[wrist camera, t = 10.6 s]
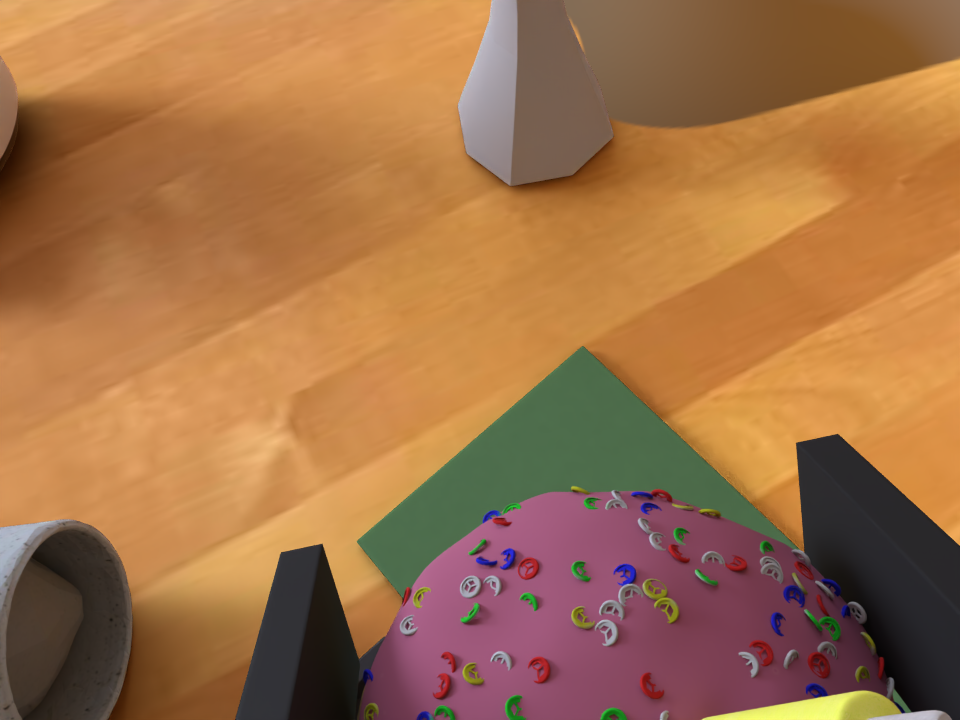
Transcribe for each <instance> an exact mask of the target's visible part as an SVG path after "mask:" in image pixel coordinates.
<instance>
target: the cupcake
mask: <svg viewBox="0 0 960 720" xmlns="http://www.w3.org/2000/svg"><path fill="white" fill-rule="evenodd" d="M571 490H572V491H573V492H549V493H544V494H541V495H538V496H535V497H532V498H530V499H527V500H525V501H523V502H520V503H512V504H510V505H508V506H507V507H506V508H505V509H504V510H503V511H502V512H499V511H497V510H492V511H489V512H488V513H487V514H486V515H485V516H484V518H483V524H481V525H480V526H479V527H477V528H476V529H475V530H473V531H472V532H471V533H469V534H468V535H467V536H465V537H464V538H462V539H461V540H460V541H458V542H457V543H455V544H454V545H452V546H451V547H450V548H448V549H447V550H446V551H444V552H443V553H442V554H441V555H439V556H438V557H437V558H436V559H435V560H433V561H432V562H431V563H430V564H429V565H428V566H427V567H426V568H425V569H424V571H423V572H422V573H421V575H420V576H419V577H418V579H417V580H416V582H415V583H414V585H413V586H412V588H411V590H410V587H407V588H406V590H405V593H404V597H403V602H402V606H401V608H400V610H399V612H398V614H397V616H396V618H395V620H394V622H393V624H392V625H391V627H390V629H389V631H388V633H387V635H386V637H385V639H384V641H383V642H382V644H381V646H380V648H379V650H378V652H377V655H376V657H375V659H374V662H373V664H372V667H371V670H369V669H365V670H364V672H363V679H364V683H365V687H364V690H363V693H362V697H361V701H360V706H359V710H358V716H357V720H952V719H951V718H950V716H949V715H948V714H946V713H945V712H942V711H937V710H930V711H920V712H912V713H906V712H905V711H904V709H903V708H902V707H901V706H900V705H899V704H898V703H897V702H895V701H894V699H893V695H892V694H893V691H894V679H893V678H891V677H889V678H888V679H887V677H886V674H885V671H884V658H883V657H878V655H877V652H876V646H875V644H874V642H873V640H872V639H871V637H870V636H869V635H868V634H867V632H866V630H865V629H864V627H863V625H862V624H864V623H865V622H866V621H867V614H866V612H865V610H864V609H863V607H862V606H861V605H859V604H858V603H856V602H849V603H848V604H847V603H846V602H845V601H844V600H843V599H842V597H841V596H840V594H841V588H840V586H839V585H838V584H837V583H836V582H835V581H833V580H830V579H825V578H824V577H823V576H822V575H821V574H820V573H819V572H818V571H817V570H816V569H815V568H814V567H813V566H812V565H811V561H810V559H809V557H808V556H807V555H806V554H805V553H804V552H802V551H801V550H797V549H794V550H793V549H792V548H790V547H789V546H787V545H786V544H784V543H782V542H779V541H777V540H775V539H772V538H770V537H768V536H765V535H763V534H761V533H759V532H756V531H754V530H752V529H749V528H747V527H745V526H743V525H740V524H738V523H735V522H733V521H731V520H728V519H726V518H724V517H721V513H720V512H719V511H717V510H713V509H701V508H699V507H696V506H693V505H691V504H688V503H685V502H682V501H679V500H676V499H673V498H672V496H671V495H670V494H669V493H668V492H666V491H664V490H661V489H654V490H653V491H652V492H649V491H619V492H618V491H616V490H613V491H612V492H588V491H586V490H584V489H582V488H580V487H576V486H572V487H571ZM661 494H663V495H661ZM664 495H665V496H664ZM492 515H495V516H494V517H492V518H491V517H490V516H492ZM488 518H490V519H489V520H488ZM832 586H833V587H834V588H835V589H834V588H833V587H832ZM852 608H854V610H855V613H854V612H853V611H852ZM856 608H857V609H858V610H859V611H860V612H861V615H860V614H859V613H858V612H857V609H856ZM856 614H857V615H858V616H859V617H860V618H859V619H858V618H857V617H856Z"/></svg>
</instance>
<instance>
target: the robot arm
mask: <svg viewBox="0 0 960 720" xmlns="http://www.w3.org/2000/svg"><path fill="white" fill-rule="evenodd" d="M796 447H797V460H798V473H799V486H800V499H801V512H802V525H803V538H804V551H805V554H806V555H807V556H808V557H809V559H810V561H811V565H812V566H813V567H814V568H815V569H816V570H817V571H818V572H819V573H820V574H821V575H822V576H823V577H824V578H825V579H830V580H833V581H835V582H836V583H837V584H838V585H839V586H840V588H841V594H840V596H841V597H842V599H843V600H844V601H845V602H846V603H847V604H848V603H849V602H856V603H858V604H859V605H861V606H862V607H863V609H864V610H865V612H866V614H867V621H866V622H865V623H864V624H862V625H863V627H864V629H865V630H866V632H867V634H868V635H869V636H870V637H871V639H872V640H873V642H874V644H875V646H876V652H877V655H878V657H883V658H884V671H885V674H886V677H887V679H888V678H889V677H891V678H893V679H894V689H895V691H896V692H897V693H898V695H899V696H900V697H901V699H902V700H903V701H904V703H905V704H906V705H907V707H908V708H909V709H910V711H911V712H920V711H930V710H937V711H942V712H945V713H946V714H948V715H949V716H950V718H951V719H952V720H960V546H959V545H958V544H957V543H956V542H955V541H954V540H953V539H952V538H951V537H950V536H948V535H947V534H946V533H945V532H944V531H943V530H942V529H941V528H940V527H939V526H938V525H937V524H935V523H934V522H933V521H932V520H931V519H930V518H929V517H928V516H927V515H926V514H925V513H923V512H922V511H921V510H920V509H919V508H918V507H917V506H916V505H915V504H914V503H913V502H911V501H910V500H909V499H908V498H907V497H906V496H905V495H904V494H903V493H902V492H901V491H899V490H898V489H897V488H896V487H895V486H894V485H893V484H892V483H891V482H890V481H889V480H887V479H886V478H885V477H884V476H883V475H882V474H881V473H880V472H879V471H878V470H877V469H876V468H874V467H873V466H872V465H871V464H870V463H869V462H868V461H867V460H866V459H865V458H864V457H862V456H861V455H860V454H859V453H858V452H857V451H856V450H855V449H854V448H853V447H852V446H850V445H849V444H848V443H847V442H846V441H845V440H844V439H843V438H842V437H841V436H840V435H838V434H836V435H831V436H826V437H821V438H817V439H812V440H807V441H803V442H798V443H796ZM832 587H833V586H832ZM833 588H834V587H833ZM834 589H835V588H834ZM856 609H857V608H856ZM852 611H853V612H854V613H855V610H854V608H852ZM857 612H858V613H859V614H860V615H861V612H860V611H859V610H858V609H857ZM856 617H857V618H858V619H859V618H860V617H859V616H858V615H857V614H856ZM359 672H360V662H359V659H358V656H357V653H356V649H355V646H354V643H353V640H352V637H351V634H350V630H349V627H348V624H347V621H346V618H345V614H344V611H343V608H342V605H341V602H340V598H339V595H338V592H337V589H336V586H335V582H334V579H333V576H332V573H331V570H330V566H329V563H328V560H327V557H326V554H325V551H324V547H323V544H319V545H314V546H310V547H305V548H300V549H296V550H291V551H286V552H281V554H280V558H279V562H278V565H277V569H276V572H275V576H274V580H273V583H272V587H271V591H270V594H269V598H268V602H267V605H266V609H265V613H264V616H263V620H262V624H261V627H260V631H259V634H258V638H257V642H256V645H255V649H254V653H253V656H252V660H251V664H250V667H249V671H248V675H247V678H246V682H245V685H244V689H243V693H242V696H241V700H240V704H239V707H238V711H237V715H236V718H235V720H355V714H356V704H357V693H358V683H359Z"/></svg>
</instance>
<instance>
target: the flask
mask: <svg viewBox="0 0 960 720" xmlns="http://www.w3.org/2000/svg"><path fill="white" fill-rule="evenodd" d="M458 110H459V116H460V121H461V127H462V132H463V138H464V144H465V149H466V153H467V154H468V155H469V156H471V157H472V158H473V159H475V160H476V161H477V162H479V163H480V164H481V165H483V166H484V167H485V168H487V169H488V170H489V171H491V172H492V173H493V174H495V175H496V176H497V177H499V178H500V179H501V180H503V181H504V182H505V183H507V184H508V185H509V186H515V185H521V184H526V183H532V182H537V181H543V180H548V179H554V178H559V177H565V176H570V175H573V174H574V173H575V172H576V171H577V170H578V169H580V168H581V167H582V166H583V165H584V164H585V163H586V162H587V161H588V160H589V159H590V158H591V157H592V156H593V155H595V154H596V153H597V152H598V151H599V150H600V149H601V148H602V147H603V146H604V145H605V144H606V143H607V142H609V141H610V140H611V139H612V138H613V137H614V134H613V131H612V127H611V123H610V120H609V116H608V112H607V109H606V105H605V101H604V98H603V94H602V91H601V88H600V85H599V84H598V81H597V79H596V76H595V74H594V73H593V70H592V68H591V67H590V65H589V63H588V61H587V59H586V57H585V55H584V53H583V51H582V49H581V46H580V44H579V42H578V40H577V37H576V35H575V33H574V30H573V28H572V26H571V23H570V21H569V19H568V17H567V14H566V9H565V5H564V0H492V3H491V11H490V19H489V22H488V25H487V28H486V31H485V34H484V37H483V39H482V42H481V45H480V48H479V51H478V54H477V57H476V60H475V63H474V65H473V67H472V70H471V72H470V75H469V77H468V80H467V82H466V85H465V87H464V90H463V92H462V95H461V98H460V100H459V103H458Z"/></svg>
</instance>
